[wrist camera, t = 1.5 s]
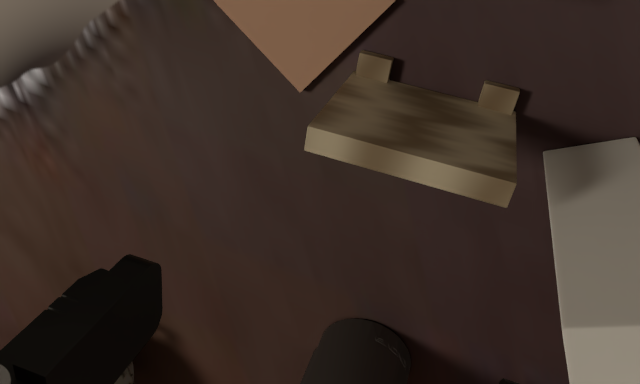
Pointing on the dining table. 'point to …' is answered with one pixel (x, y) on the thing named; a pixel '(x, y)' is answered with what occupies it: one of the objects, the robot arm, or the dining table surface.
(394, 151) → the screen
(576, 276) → the milk
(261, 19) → the coaster
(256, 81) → the dining table surface
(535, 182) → the dining table surface
